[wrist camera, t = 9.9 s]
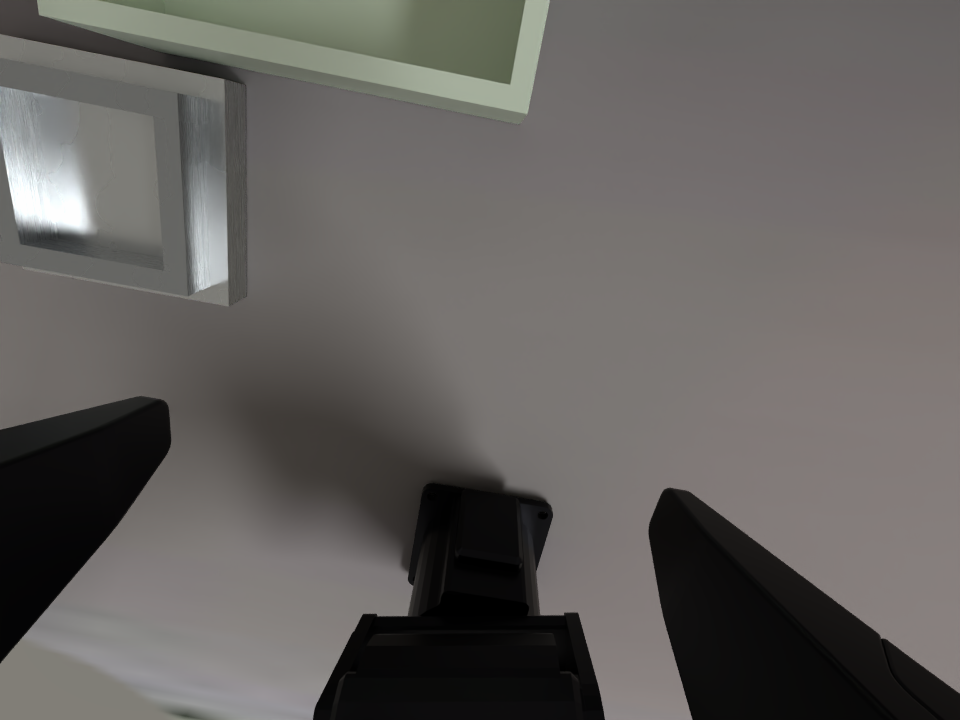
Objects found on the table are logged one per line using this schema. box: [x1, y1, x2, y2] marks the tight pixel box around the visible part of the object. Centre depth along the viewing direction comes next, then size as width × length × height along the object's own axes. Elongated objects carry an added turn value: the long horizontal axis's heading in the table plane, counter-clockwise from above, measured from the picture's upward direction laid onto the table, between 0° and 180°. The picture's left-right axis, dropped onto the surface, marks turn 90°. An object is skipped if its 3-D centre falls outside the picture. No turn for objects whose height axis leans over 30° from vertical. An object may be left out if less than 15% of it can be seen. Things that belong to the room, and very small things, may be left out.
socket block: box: [0, 34, 246, 307], centre depth 18 cm, size 8×8×3 cm
